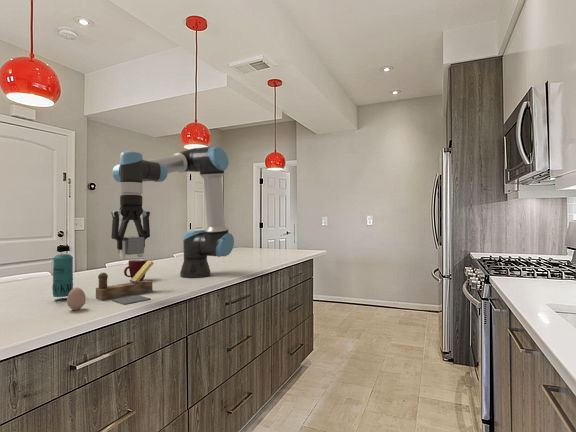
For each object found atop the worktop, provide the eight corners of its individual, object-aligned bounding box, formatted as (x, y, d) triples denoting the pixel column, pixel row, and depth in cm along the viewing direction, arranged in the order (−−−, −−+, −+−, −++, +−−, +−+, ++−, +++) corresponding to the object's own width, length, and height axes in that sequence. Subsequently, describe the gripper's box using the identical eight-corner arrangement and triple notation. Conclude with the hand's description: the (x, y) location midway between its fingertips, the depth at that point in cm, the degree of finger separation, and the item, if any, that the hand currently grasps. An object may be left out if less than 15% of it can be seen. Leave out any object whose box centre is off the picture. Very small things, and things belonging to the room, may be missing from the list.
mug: (131, 284, 162) (131, 262, 162) (120, 282, 166) (119, 261, 166) (150, 280, 171) (150, 259, 171) (139, 279, 175) (139, 258, 175)
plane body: (145, 289, 149) (145, 266, 149) (152, 291, 146) (152, 267, 146) (95, 298, 134) (95, 272, 134) (101, 300, 130) (101, 273, 130)
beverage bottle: (54, 298, 134) (54, 245, 134) (74, 296, 137) (74, 244, 137) (50, 302, 128) (50, 246, 128) (72, 300, 131) (72, 245, 131)
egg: (86, 310, 117) (86, 288, 117) (67, 312, 114) (66, 289, 114) (85, 307, 122) (85, 285, 122) (66, 309, 119) (66, 287, 119)
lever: (131, 282, 144) (148, 262, 150) (136, 284, 141) (154, 263, 147) (129, 281, 143) (146, 260, 149) (134, 282, 141) (152, 261, 146)
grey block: (144, 253, 131) (144, 237, 131) (128, 254, 126) (128, 237, 126) (134, 252, 135) (134, 236, 135) (118, 253, 131) (118, 237, 131)
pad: (138, 296, 138) (138, 295, 138) (150, 299, 132) (150, 298, 132) (111, 301, 130) (111, 299, 130) (124, 304, 124) (124, 303, 124)
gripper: (149, 196, 141) (150, 255, 141) (99, 193, 126) (99, 259, 126) (160, 195, 136) (160, 256, 136) (109, 193, 121) (109, 261, 121)
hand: (131, 257), depth 131 cm, fingers closed on grey block, 6 cm apart
